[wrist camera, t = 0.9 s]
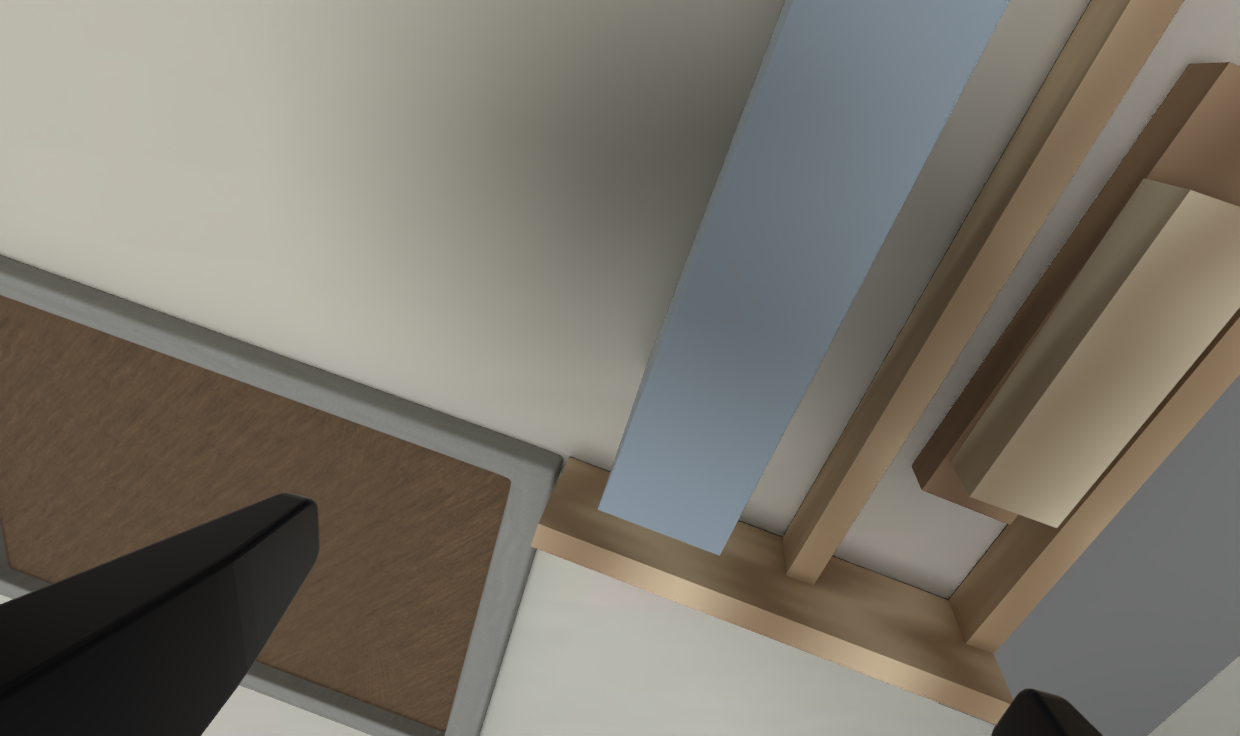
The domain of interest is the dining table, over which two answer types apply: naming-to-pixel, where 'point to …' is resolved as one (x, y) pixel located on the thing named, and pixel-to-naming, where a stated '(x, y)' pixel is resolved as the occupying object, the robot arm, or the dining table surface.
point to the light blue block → (787, 247)
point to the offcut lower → (1164, 152)
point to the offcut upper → (1107, 353)
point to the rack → (903, 387)
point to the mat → (1146, 593)
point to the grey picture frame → (260, 468)
